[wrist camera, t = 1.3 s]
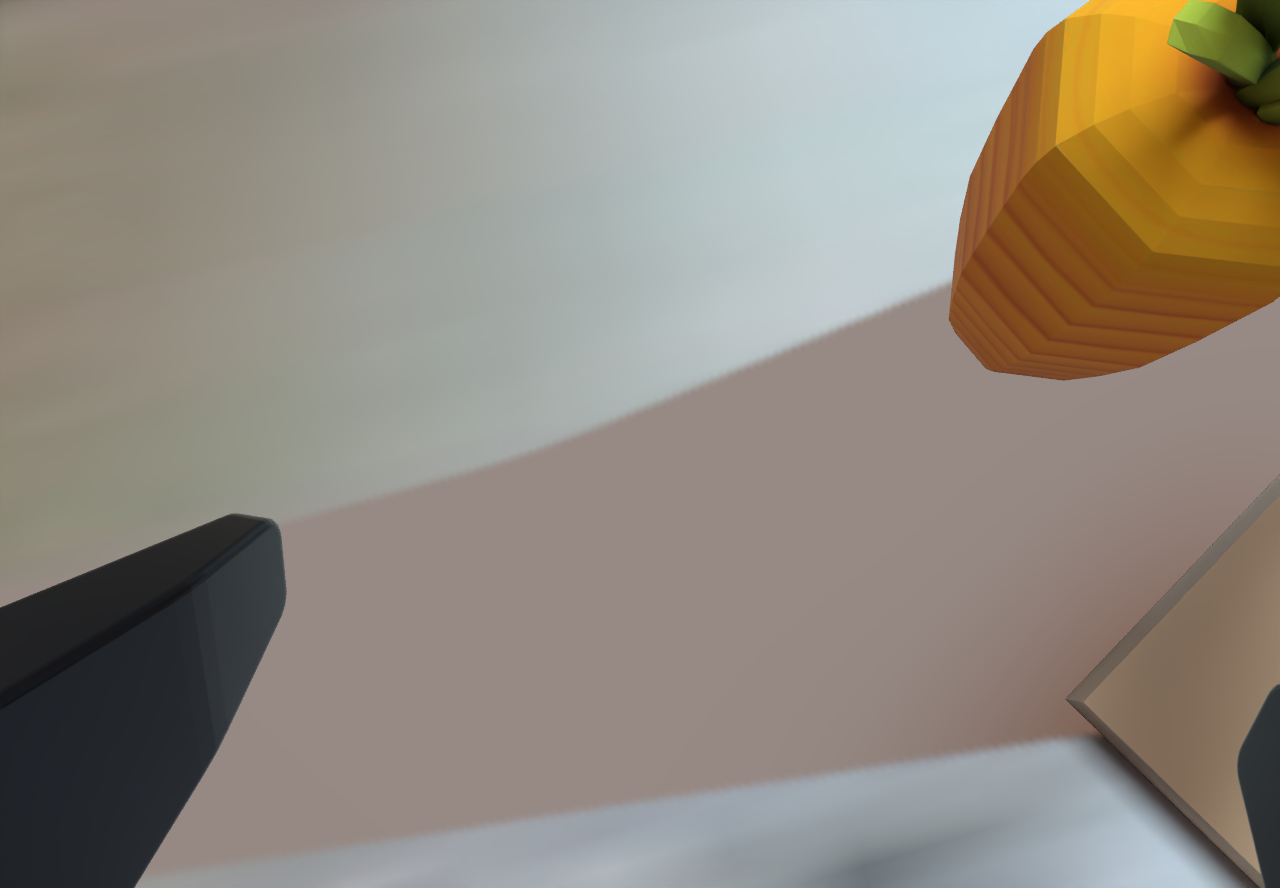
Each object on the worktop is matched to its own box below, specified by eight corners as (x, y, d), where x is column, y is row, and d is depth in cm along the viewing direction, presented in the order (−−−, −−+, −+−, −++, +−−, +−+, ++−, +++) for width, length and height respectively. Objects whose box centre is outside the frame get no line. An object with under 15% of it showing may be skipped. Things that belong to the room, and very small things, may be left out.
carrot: (1137, 304, 23) (1922, -280, 8) (1038, 488, 22) (1699, 208, 8) (942, 204, 24) (1349, -497, 9) (841, 380, 23) (1101, -67, 8)
